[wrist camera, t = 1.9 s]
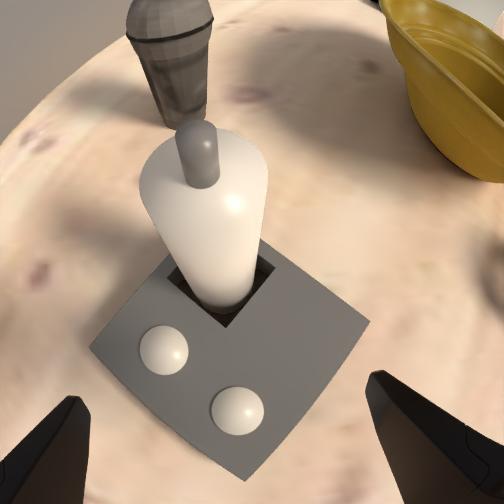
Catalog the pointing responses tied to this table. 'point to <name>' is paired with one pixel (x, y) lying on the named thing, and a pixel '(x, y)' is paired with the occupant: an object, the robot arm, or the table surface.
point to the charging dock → (231, 358)
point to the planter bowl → (452, 81)
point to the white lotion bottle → (209, 209)
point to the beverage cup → (173, 54)
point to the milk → (499, 26)
